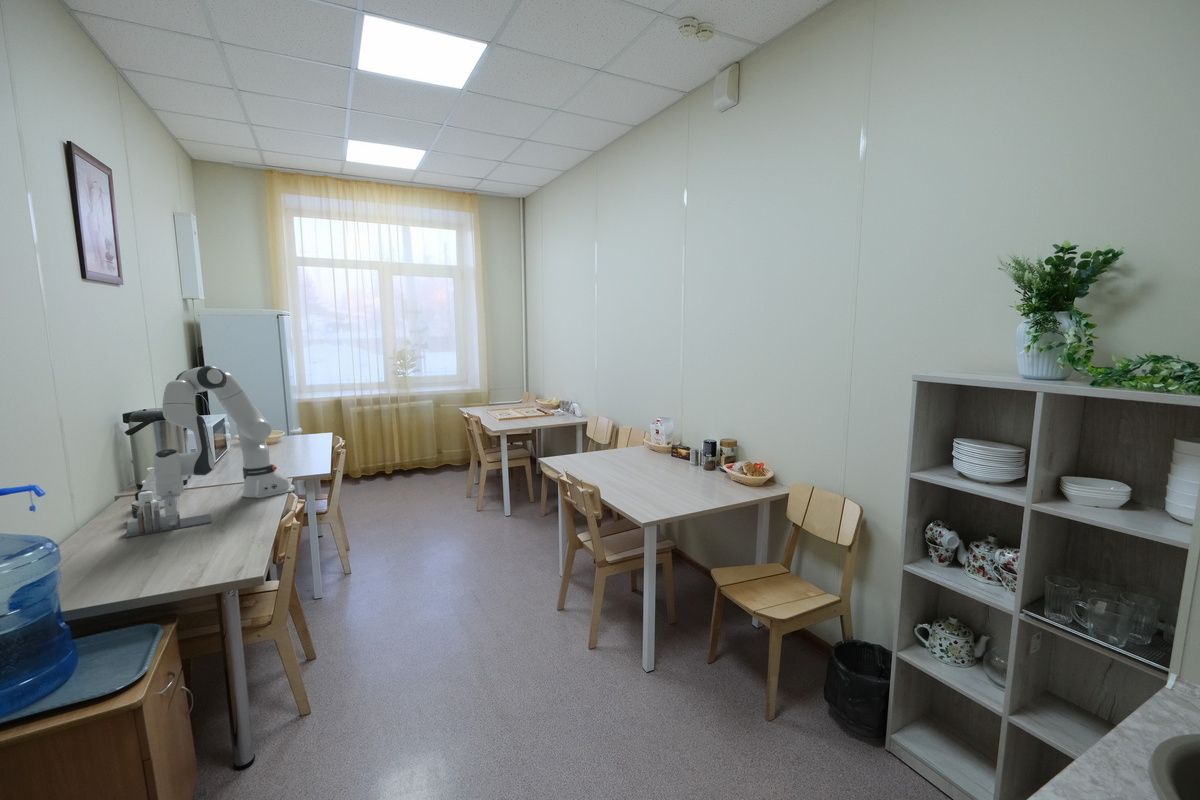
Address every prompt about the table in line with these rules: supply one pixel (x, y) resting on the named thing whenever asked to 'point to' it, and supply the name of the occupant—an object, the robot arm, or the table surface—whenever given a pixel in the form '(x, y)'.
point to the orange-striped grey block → (163, 522)
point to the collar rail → (148, 513)
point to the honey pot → (152, 486)
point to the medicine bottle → (143, 501)
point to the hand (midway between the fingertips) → (173, 520)
